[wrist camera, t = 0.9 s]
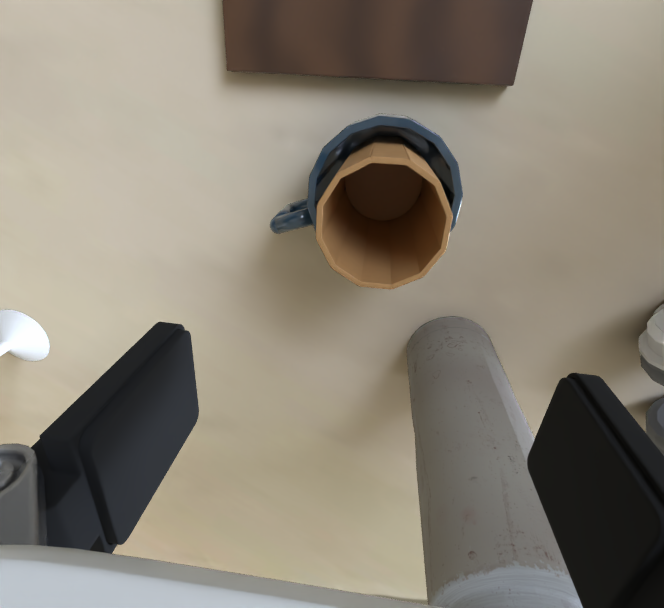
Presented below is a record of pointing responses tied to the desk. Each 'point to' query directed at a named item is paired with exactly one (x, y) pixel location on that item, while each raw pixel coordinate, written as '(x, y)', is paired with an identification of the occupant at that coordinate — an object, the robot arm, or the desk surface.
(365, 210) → the paper cup
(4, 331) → the champagne flute
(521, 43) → the serving board
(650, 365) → the headphones
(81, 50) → the desk surface
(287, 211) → the mug
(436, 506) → the thermos bottle
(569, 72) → the desk surface
